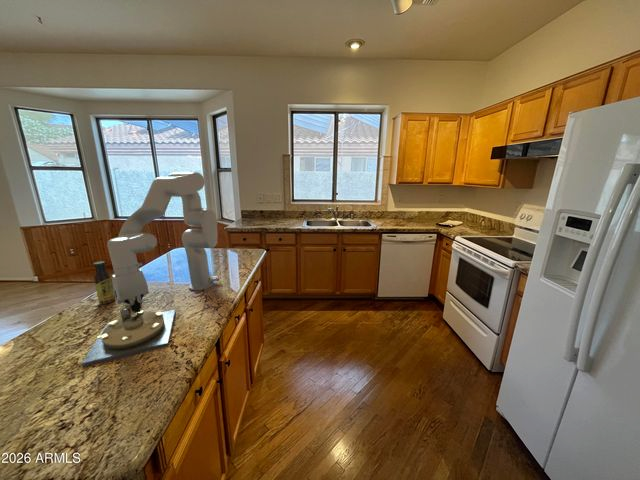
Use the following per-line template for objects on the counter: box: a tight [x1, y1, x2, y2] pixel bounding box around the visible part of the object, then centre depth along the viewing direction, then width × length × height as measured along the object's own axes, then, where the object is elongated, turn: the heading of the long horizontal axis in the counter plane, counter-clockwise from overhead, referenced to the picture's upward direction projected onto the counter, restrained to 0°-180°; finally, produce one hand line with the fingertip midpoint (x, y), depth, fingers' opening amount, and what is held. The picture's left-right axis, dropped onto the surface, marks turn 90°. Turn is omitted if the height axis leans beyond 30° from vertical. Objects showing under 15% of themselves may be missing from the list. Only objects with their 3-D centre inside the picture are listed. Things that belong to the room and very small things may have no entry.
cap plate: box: [80, 309, 176, 368], centre depth 95 cm, size 24×24×2 cm
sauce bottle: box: [93, 260, 116, 305], centre depth 118 cm, size 6×6×20 cm
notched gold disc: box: [100, 307, 165, 349], centre depth 94 cm, size 19×19×7 cm
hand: (137, 311), depth 101 cm, fingers closed
